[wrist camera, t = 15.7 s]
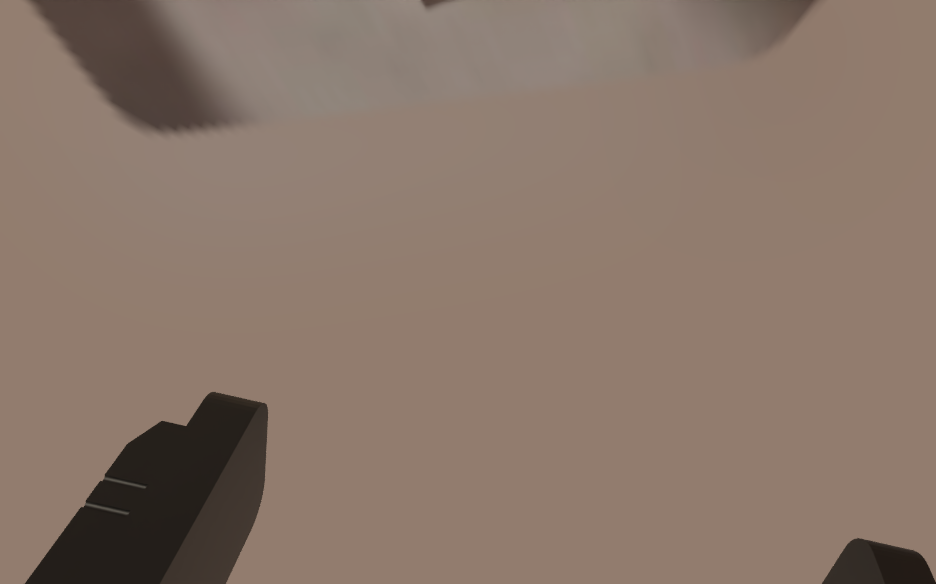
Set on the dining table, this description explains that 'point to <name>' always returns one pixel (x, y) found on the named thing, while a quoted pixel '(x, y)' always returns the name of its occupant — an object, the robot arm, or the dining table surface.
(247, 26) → the dining table surface
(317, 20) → the dining table surface
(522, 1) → the dining table surface
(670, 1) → the dining table surface
